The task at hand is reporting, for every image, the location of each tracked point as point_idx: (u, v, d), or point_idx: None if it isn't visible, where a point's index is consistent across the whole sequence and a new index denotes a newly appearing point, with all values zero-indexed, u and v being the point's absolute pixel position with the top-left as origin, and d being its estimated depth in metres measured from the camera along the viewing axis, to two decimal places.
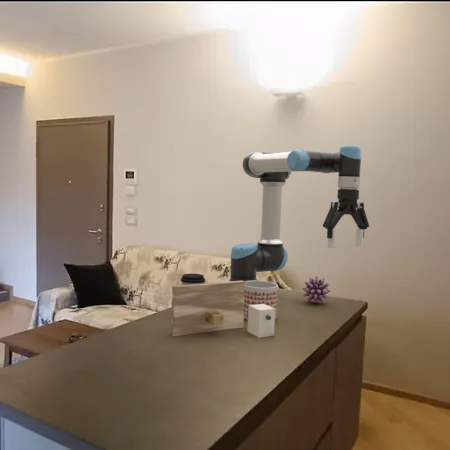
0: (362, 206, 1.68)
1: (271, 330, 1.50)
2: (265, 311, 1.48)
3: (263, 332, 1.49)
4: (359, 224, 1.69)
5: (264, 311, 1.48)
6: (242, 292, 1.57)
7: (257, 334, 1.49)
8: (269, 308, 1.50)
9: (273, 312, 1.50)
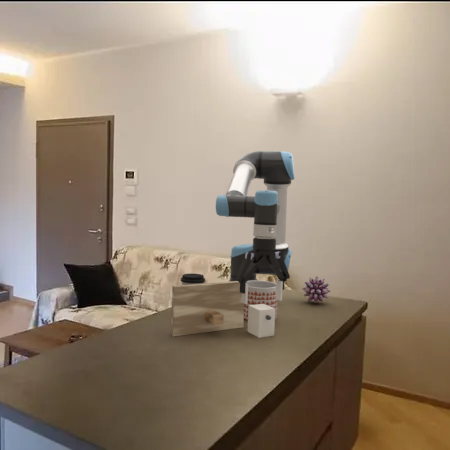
0: (281, 256, 1.52)
1: (271, 330, 1.50)
2: (265, 311, 1.48)
3: (263, 332, 1.49)
4: (278, 275, 1.53)
5: (264, 311, 1.48)
6: None
7: (257, 334, 1.49)
8: (269, 308, 1.50)
9: (273, 312, 1.50)
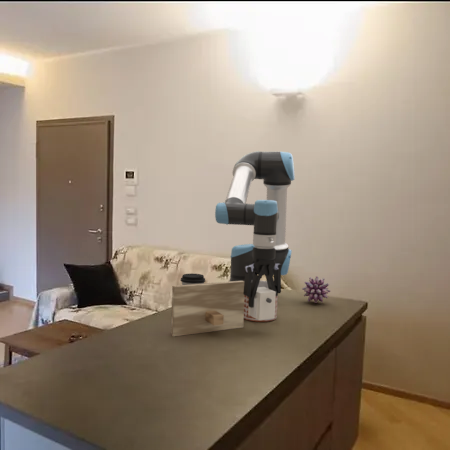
0: (279, 268, 1.53)
1: (272, 313, 1.50)
2: (266, 294, 1.48)
3: (264, 315, 1.49)
4: (271, 288, 1.53)
5: (265, 294, 1.48)
6: (242, 292, 1.57)
7: (258, 317, 1.49)
8: (270, 291, 1.50)
9: (274, 295, 1.50)
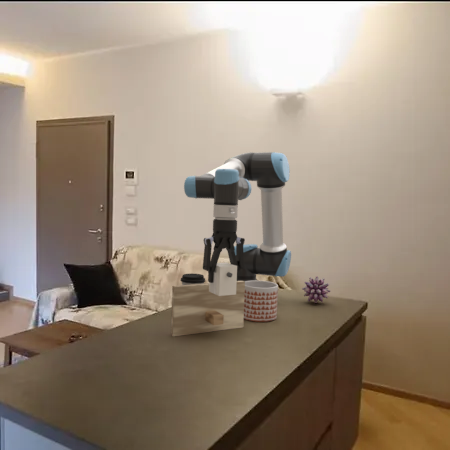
0: (242, 242, 1.45)
1: (233, 289, 1.42)
2: (226, 268, 1.40)
3: (224, 290, 1.40)
4: None
5: (225, 268, 1.40)
6: (242, 292, 1.57)
7: (217, 292, 1.40)
8: (231, 265, 1.42)
9: (235, 269, 1.41)
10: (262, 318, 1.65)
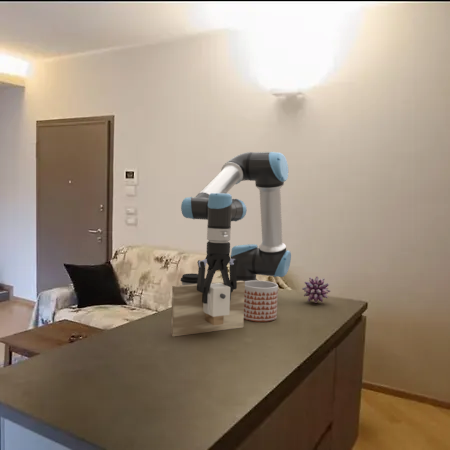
0: (235, 263, 1.49)
1: (226, 309, 1.46)
2: (219, 289, 1.44)
3: (218, 311, 1.44)
4: (226, 284, 1.49)
5: (218, 289, 1.44)
6: (242, 292, 1.57)
7: (211, 313, 1.44)
8: (224, 286, 1.46)
9: (228, 291, 1.46)
10: (262, 318, 1.65)
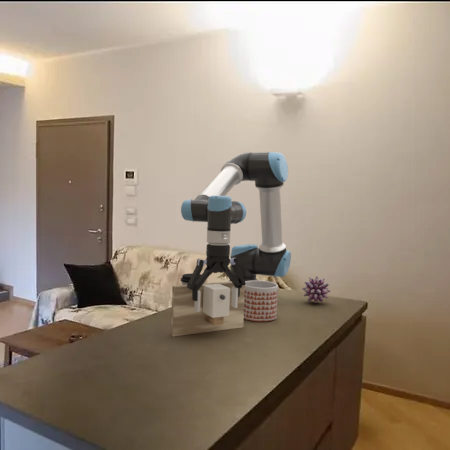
0: (236, 262, 1.49)
1: (226, 310, 1.46)
2: (219, 290, 1.44)
3: (217, 312, 1.44)
4: (233, 282, 1.50)
5: (218, 290, 1.44)
6: (242, 292, 1.57)
7: (211, 314, 1.44)
8: (224, 287, 1.46)
9: (228, 292, 1.46)
10: (262, 318, 1.65)
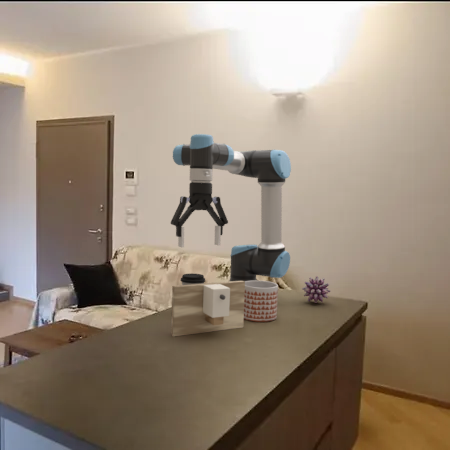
0: (218, 201, 1.53)
1: (226, 310, 1.46)
2: (219, 290, 1.44)
3: (217, 312, 1.44)
4: (216, 220, 1.54)
5: (218, 290, 1.44)
6: (242, 292, 1.57)
7: (211, 314, 1.44)
8: (224, 287, 1.46)
9: (228, 292, 1.46)
10: (262, 318, 1.65)
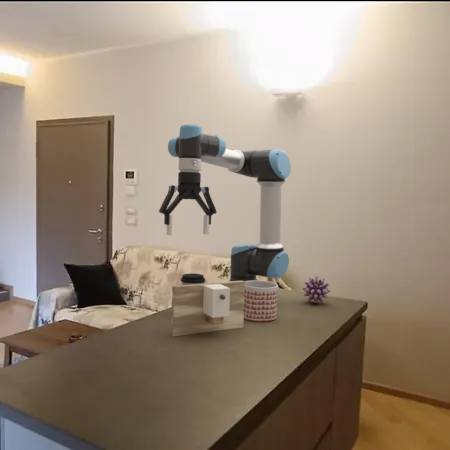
0: (207, 190, 1.56)
1: (226, 310, 1.46)
2: (219, 290, 1.44)
3: (217, 312, 1.44)
4: (205, 210, 1.57)
5: (218, 290, 1.44)
6: (242, 292, 1.57)
7: (211, 314, 1.44)
8: (224, 287, 1.46)
9: (228, 292, 1.46)
10: (262, 318, 1.65)
